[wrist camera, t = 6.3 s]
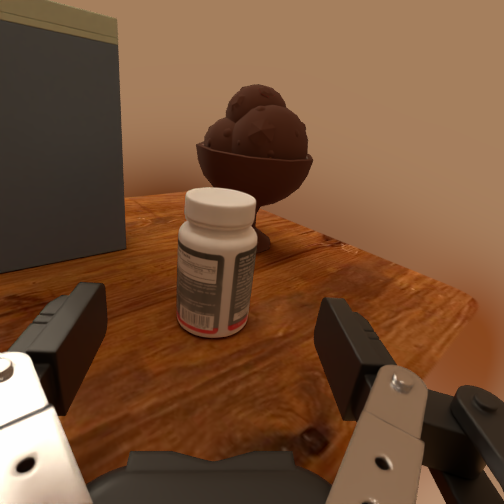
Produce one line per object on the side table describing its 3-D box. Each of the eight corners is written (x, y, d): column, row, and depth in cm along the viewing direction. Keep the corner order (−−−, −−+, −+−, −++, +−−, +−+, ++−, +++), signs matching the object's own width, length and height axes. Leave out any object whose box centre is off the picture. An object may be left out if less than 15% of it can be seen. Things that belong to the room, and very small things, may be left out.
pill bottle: (233, 295, 25) (245, 185, 22) (258, 333, 21) (277, 207, 18) (169, 302, 23) (172, 184, 20) (184, 346, 19) (190, 208, 16)
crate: (-60, 285, 22) (-152, -14, 15) (-69, 232, 28) (-135, 9, 22) (126, 248, 30) (118, 45, 24) (85, 214, 37) (70, 48, 30)
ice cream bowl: (170, 236, 34) (173, 72, 28) (243, 218, 42) (258, 88, 36) (246, 276, 28) (271, 78, 22) (315, 247, 36) (347, 95, 30)
